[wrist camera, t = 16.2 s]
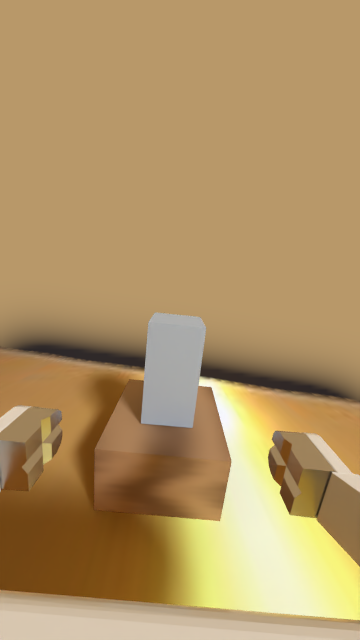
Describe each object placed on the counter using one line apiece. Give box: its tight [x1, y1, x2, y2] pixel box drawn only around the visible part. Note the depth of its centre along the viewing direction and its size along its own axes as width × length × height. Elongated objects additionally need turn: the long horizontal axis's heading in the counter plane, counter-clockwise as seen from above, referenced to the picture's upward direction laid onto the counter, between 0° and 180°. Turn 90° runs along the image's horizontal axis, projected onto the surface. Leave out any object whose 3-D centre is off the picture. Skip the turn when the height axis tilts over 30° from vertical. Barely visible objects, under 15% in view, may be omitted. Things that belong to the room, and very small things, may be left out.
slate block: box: [141, 313, 206, 428], centre depth 19 cm, size 4×4×9 cm
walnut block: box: [94, 379, 231, 521], centre depth 20 cm, size 10×10×6 cm
